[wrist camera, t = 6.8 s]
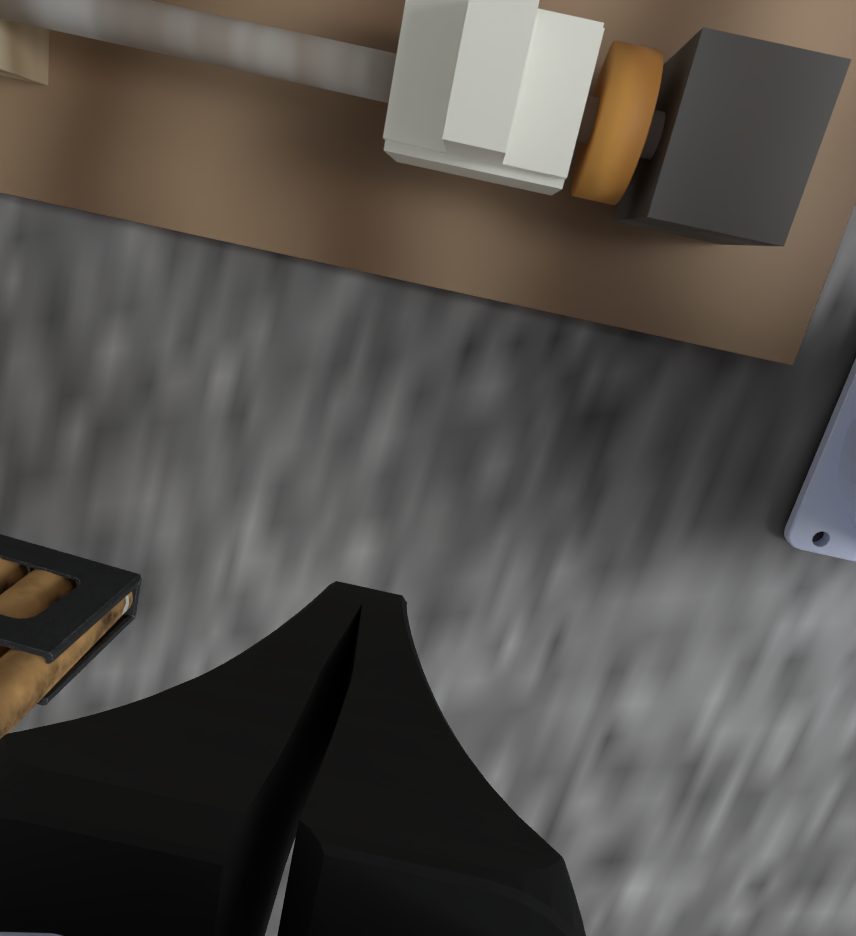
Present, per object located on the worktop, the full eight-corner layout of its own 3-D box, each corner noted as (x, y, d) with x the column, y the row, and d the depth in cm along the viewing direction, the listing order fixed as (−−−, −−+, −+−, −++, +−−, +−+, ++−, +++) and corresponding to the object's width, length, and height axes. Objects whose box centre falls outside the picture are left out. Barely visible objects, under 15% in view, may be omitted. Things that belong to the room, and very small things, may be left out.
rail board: (909, 13, 17) (1074, -73, 12) (778, 359, 20) (870, 397, 15) (-12, -186, 17) (-201, -348, 13) (-9, 187, 20) (-161, 172, 16)
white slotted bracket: (586, 53, 16) (628, -20, 12) (551, 195, 17) (576, 180, 13) (421, 17, 16) (398, -69, 12) (396, 161, 17) (366, 134, 13)
